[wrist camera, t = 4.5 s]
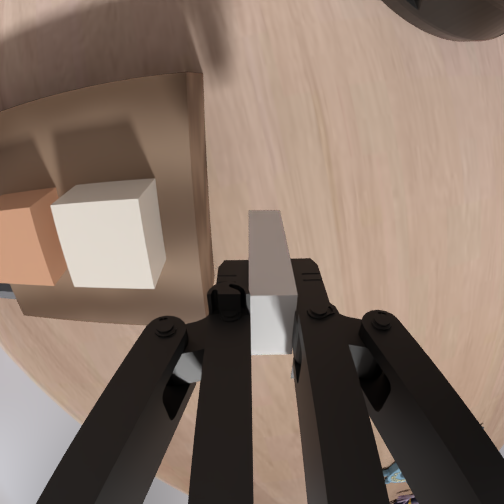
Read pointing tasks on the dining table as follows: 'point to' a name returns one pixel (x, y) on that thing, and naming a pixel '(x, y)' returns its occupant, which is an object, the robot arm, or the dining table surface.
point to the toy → (407, 500)
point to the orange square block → (30, 239)
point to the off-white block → (111, 234)
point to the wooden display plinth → (119, 169)
